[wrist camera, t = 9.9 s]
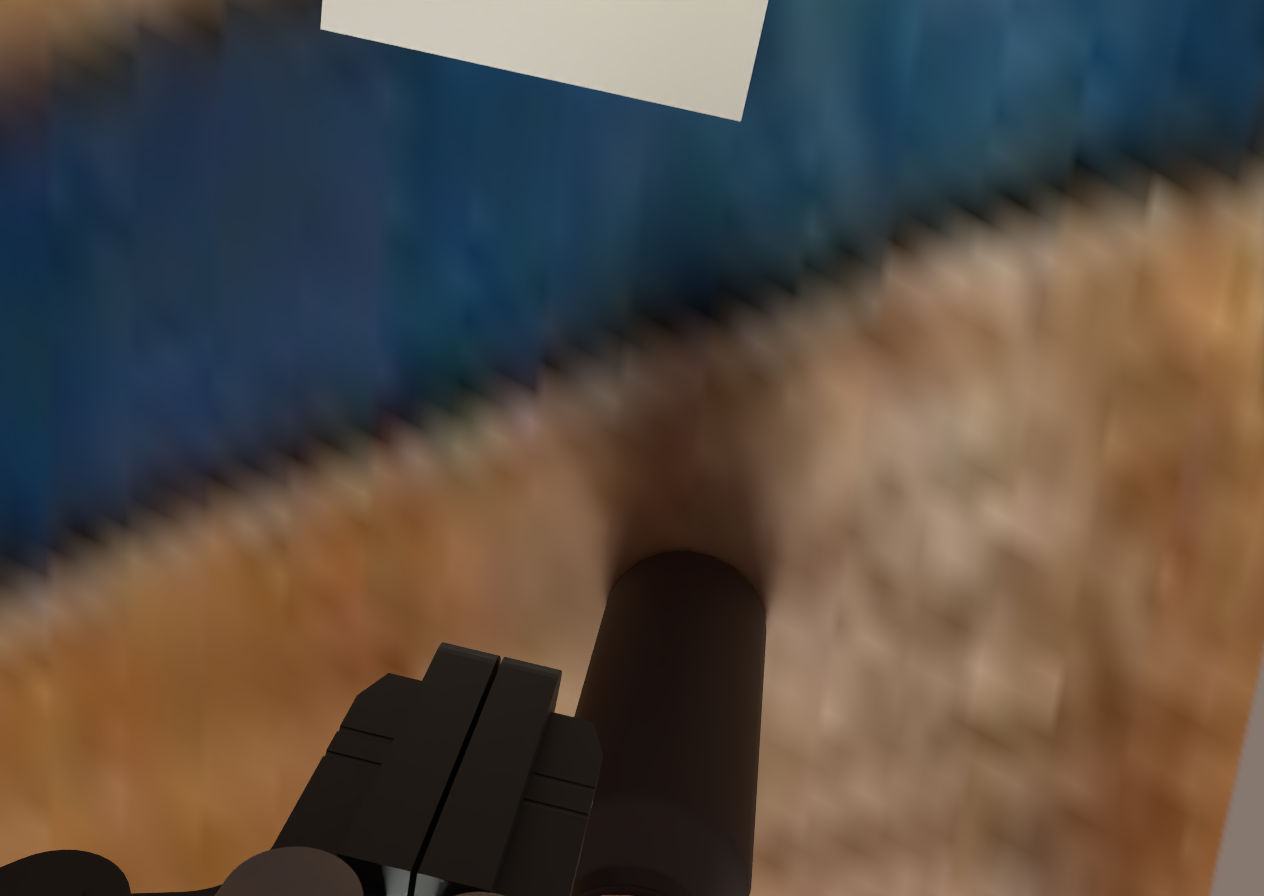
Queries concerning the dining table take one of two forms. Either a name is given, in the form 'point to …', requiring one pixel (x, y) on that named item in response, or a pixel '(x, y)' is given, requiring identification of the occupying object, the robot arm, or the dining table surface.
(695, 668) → the vinegar
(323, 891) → the robot arm
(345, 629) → the dining table surface
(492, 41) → the mat
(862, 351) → the dining table surface
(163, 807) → the dining table surface
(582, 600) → the dining table surface
